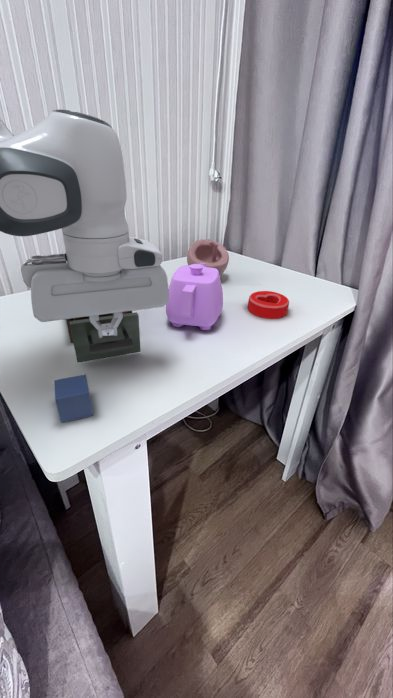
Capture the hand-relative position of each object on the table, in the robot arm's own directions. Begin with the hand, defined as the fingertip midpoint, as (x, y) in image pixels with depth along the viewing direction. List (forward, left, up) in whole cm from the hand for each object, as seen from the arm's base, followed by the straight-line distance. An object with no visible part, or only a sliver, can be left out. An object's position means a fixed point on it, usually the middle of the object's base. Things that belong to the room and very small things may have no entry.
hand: (107, 335), depth 55 cm
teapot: (+21, +14, -7) cm, 26 cm away
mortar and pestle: (+34, +37, -7) cm, 51 cm away
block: (-7, -8, -7) cm, 13 cm away
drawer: (0, +7, -6) cm, 10 cm away
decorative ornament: (+40, +13, -7) cm, 43 cm away
